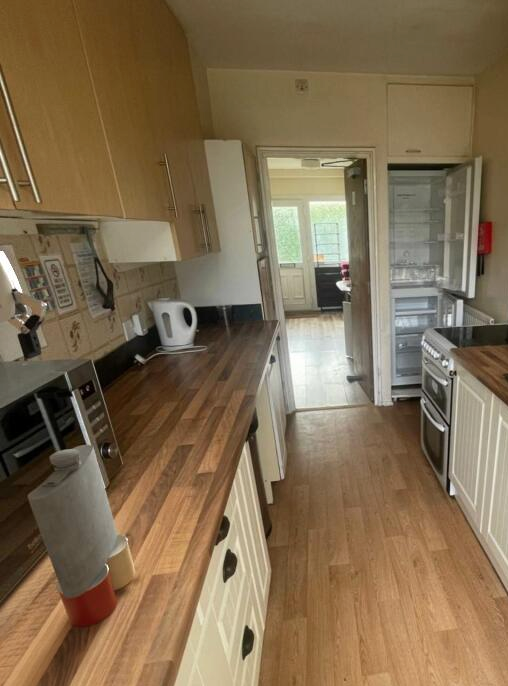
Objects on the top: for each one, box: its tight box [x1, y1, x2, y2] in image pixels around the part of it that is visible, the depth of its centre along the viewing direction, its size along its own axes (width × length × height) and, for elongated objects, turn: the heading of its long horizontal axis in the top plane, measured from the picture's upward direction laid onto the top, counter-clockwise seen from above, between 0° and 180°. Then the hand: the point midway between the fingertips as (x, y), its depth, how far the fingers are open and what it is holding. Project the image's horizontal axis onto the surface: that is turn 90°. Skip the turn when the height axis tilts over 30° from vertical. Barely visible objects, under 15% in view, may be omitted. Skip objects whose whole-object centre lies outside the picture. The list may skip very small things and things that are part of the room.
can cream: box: [106, 533, 136, 592], centre depth 75 cm, size 7×7×7 cm
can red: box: [56, 564, 118, 628], centre depth 68 cm, size 7×7×7 cm
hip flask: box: [27, 444, 118, 598], centre depth 66 cm, size 16×4×20 cm, turn 12°
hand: (0, 356), depth 68 cm, fingers open, 9 cm apart
